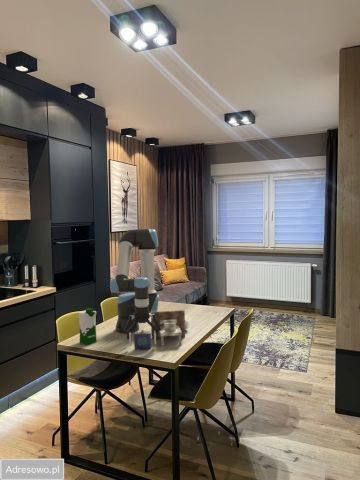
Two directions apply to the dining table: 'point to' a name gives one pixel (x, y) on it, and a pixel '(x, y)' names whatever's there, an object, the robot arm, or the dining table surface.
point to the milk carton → (87, 326)
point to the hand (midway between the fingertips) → (142, 344)
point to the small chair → (169, 325)
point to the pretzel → (186, 324)
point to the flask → (142, 340)
